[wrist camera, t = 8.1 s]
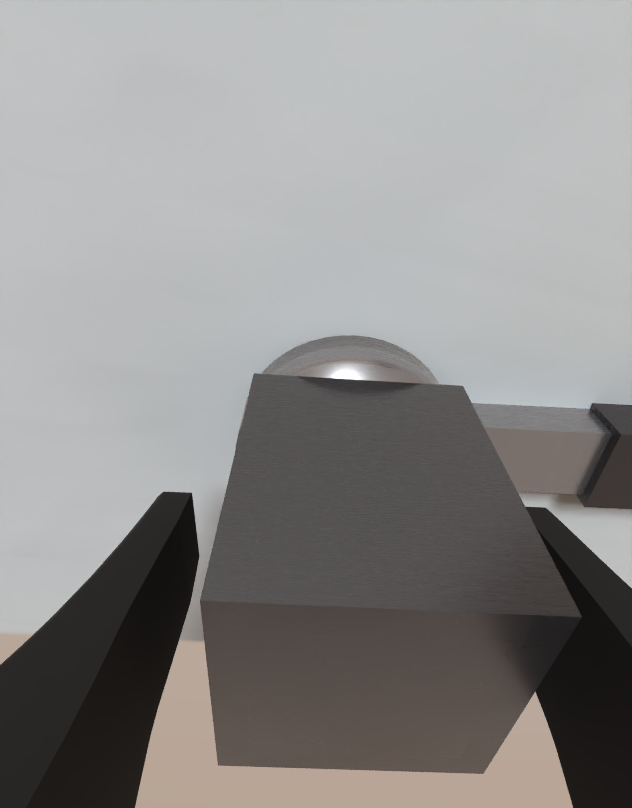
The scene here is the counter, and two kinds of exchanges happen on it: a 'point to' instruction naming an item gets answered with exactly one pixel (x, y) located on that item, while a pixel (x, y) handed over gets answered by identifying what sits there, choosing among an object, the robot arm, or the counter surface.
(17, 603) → the counter surface
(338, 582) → the brushed dark grey cube
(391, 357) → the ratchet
